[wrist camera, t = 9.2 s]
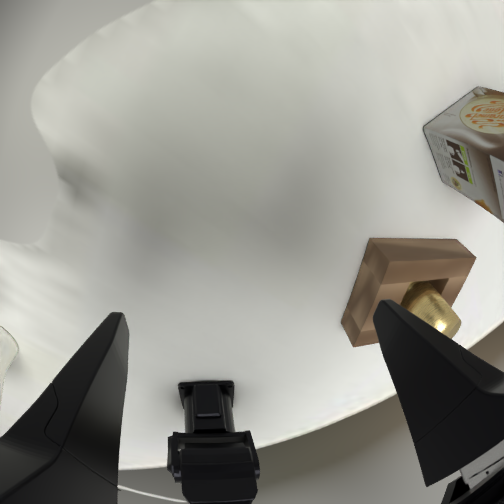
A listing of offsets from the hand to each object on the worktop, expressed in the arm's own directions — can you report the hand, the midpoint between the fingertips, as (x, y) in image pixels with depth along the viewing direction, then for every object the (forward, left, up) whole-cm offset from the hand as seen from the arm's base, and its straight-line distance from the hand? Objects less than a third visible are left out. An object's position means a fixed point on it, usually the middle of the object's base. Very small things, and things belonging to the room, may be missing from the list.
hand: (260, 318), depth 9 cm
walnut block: (-9, -18, -12) cm, 23 cm away
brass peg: (-9, -18, -12) cm, 23 cm away
